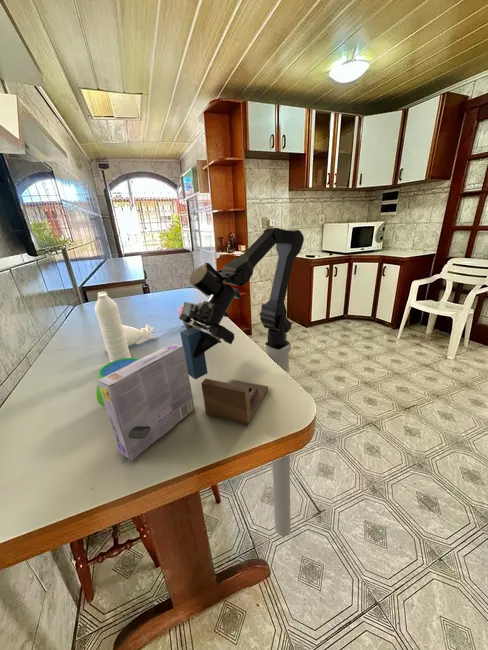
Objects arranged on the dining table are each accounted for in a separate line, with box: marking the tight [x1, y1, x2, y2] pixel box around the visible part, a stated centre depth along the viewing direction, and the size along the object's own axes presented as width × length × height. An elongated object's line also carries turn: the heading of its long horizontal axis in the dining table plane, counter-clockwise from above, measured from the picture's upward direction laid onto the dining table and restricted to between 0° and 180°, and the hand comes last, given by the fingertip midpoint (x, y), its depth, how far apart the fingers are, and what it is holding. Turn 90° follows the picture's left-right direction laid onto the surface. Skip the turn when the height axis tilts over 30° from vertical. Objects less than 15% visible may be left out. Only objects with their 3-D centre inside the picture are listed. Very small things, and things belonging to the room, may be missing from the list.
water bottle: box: [94, 290, 132, 363], centre depth 86 cm, size 9×6×25 cm
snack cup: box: [95, 357, 141, 408], centre depth 70 cm, size 16×10×10 cm
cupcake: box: [177, 303, 186, 327], centre depth 117 cm, size 9×9×10 cm
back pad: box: [179, 327, 208, 380], centre depth 72 cm, size 4×4×13 cm
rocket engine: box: [104, 324, 157, 351], centre depth 103 cm, size 12×12×18 cm
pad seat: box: [200, 378, 269, 426], centre depth 66 cm, size 14×11×9 cm
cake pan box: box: [96, 343, 196, 462], centre depth 58 cm, size 19×5×18 cm, turn 145°
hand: (189, 354), depth 71 cm, fingers closed on back pad, 4 cm apart
